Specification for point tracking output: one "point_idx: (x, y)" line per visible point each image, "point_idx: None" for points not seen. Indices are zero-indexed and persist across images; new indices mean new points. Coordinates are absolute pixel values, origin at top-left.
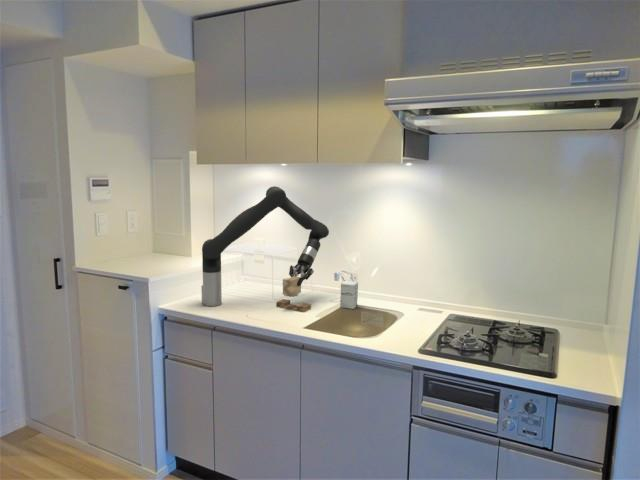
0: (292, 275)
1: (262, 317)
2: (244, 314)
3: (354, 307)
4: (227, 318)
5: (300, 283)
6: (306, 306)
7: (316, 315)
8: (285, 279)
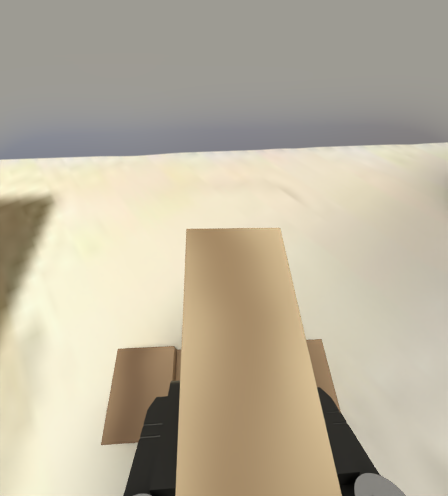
0: (372, 491)
1: (238, 204)
2: (307, 197)
3: None
4: (308, 156)
5: (148, 420)
6: (113, 377)
7: (41, 346)
8: (275, 242)
